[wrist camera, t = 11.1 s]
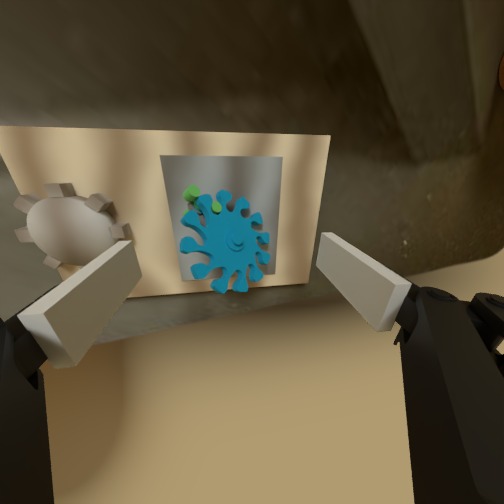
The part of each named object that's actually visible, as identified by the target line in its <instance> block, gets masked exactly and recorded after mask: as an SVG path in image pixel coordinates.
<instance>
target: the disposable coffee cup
mask: <svg viewBox="0 0 504 504" xmlns="http://www.w3.org/2000/svg"><path fill="white" fill-rule="evenodd" d="M499 83H500V86H501V87H502V89H503V90H504V55H503V58H502V61H501V64H500V68H499Z"/></svg>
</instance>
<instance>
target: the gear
mask: <svg viewBox="0 0 504 504" xmlns="http://www.w3.org/2000/svg"><path fill="white" fill-rule="evenodd" d="M199 195H200V190H199V188H198V187H197V186H196V185H190V186H189V187H188V188H187V189H186V190H185V191H184V193H183V198H184V199H185V200H186V201H187V202H188V205H187V206H188V209H187V210H186V211H185V212H184V213H183V217H182V219H181V220H180V222H181V223H182V225H184V226H185V227H189V228H191V229H193V230H195V231H196V232H197V233H198V234H199V235H200V237H201V238H202V239H203V246H200V245H199V244H198V243H197V242H196V241H195V239H194V238H192V237H189V236H187V237H184V238H182V239H181V241H180V252H181V253H183V254H188V253H191V252H199V253H202V254H205V255H207V256H208V257H209V259H210V263H209V265H206V264H203V263H197V264H194V265H192V266H191V267H190V270H191V273H192V275H193V277H194V279H203V278H205V277H206V276H207V274H208V273H209V272H210V271H211V270H213V269H214V268H217V267H219V268H221V269H222V271H223V275H222V277H221V278H219V279H215V280H213V281H212V282H211V285H210V287H211V288H212V289H213V290H214V291H216V292H217V293H225V292H226V291H227V289H228V282H229V279H230V277H231V275H232V274H233V273H234V272H235V271H236V272H237V274H238V278H237V280H236V281H235V282H234V283H233V286H232V289H233V291H235V292H247V291H248V284H247V280H246V271H247V267H248V266H249V268H250V273H249V279H250V281H251V282H257V281H260V280H261V279H262V278H263V273H262V271H261V270H260V269H259V268H258V266H257V264H256V260H255V254H256V255H257V260H258V263H259V264H260V265H266V264H268V262H269V260H270V257H271V256H270V254H269V253H267V252H264V251H263V250H262V249H261V248H260V247H259V246H258V244H257V242H256V239H257V240H258V242H259V243H260V244H261V245H264V244H268V243H269V241H270V236H269V233H268V232H264V233H259V232H257V231H255V230H253V229H252V227H251V224H252V225H254V226H257V225H259V224H262V223H263V219H262V216H261V214H260V213H259V212H257V213H255V214H253V215H251V216H250V218H243V217H242V216H241V213H240V211H244V210H246V209H248V208H249V207H250V204H249V202H248V201H247V200H246V199H245V198H244V197H241V198H239V199H238V200H236V203H235V208H234V210H233V211H232V212H229V211H228V210H227V208H226V204H227V203H228V202H229V201H230V200H231V199H232V195H231V193H230V192H228V191H225V190H222V189H221V190H220V191H219V192H217V194H216V199H217V201H214V202H213V199H212V197H211V195H210V194H204V195H200V196H199ZM198 196H199V197H198ZM215 214H216V215H215Z"/></svg>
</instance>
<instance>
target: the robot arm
mask: <svg viewBox="0 0 504 504" xmlns="http://www.w3.org/2000/svg"><path fill="white" fill-rule="evenodd" d="M316 266H317V267H318V268H319V269H320V270H321V271H322V273H323V274H324V275H325V276H326V277H327V278H328V279H329V280H330V281H331V282H332V284H333V285H334V286H335V287H336V288H337V289H338V290H339V291H340V292H341V294H342V295H343V296H344V297H345V298H346V299H347V300H348V301H349V302H350V303H351V305H352V306H353V307H354V308H355V309H356V310H357V311H358V312H359V313H360V314H361V315H362V317H363V318H364V319H365V320H366V321H367V322H368V323H369V324H370V326H371V327H372V328H373V329H374V330H375V331H376V332H383V331H391V329H392V327H393V325H394V322H395V321H396V322H397V323H398V324H399V325H400V326H401V328H400V330H399V333H398V335H397V337H396V339H395V341H394V345H397V343H398V342H400V351H401V362H402V372H403V383H404V394H405V405H406V416H407V426H408V438H409V449H410V459H411V470H412V480H413V492H414V503H415V504H504V354H503V355H502V354H500V353H499V352H498V351H497V350H496V348H497V347H498V346H499V344H500V343H501V342H502V341H503V340H504V297H502V296H501V297H500V296H499V295H495V294H489V293H477V294H475V296H474V298H473V299H472V301H471V302H468V301H460V300H458V299H457V298H456V297H455V296H454V295H452V294H450V293H448V292H446V291H443V290H440V289H437V288H433V287H421V288H420V287H418V286H417V285H415V284H413V283H412V282H410V281H409V280H407V279H406V278H404V277H403V276H401V275H398V273H396V272H395V271H393V270H391V269H390V268H388V267H387V266H385V265H383V264H381V263H379V262H377V261H376V260H374V259H372V258H371V257H369V256H368V255H366V254H365V253H363V252H361V251H360V250H358V249H357V248H355V247H354V246H352V245H350V244H349V243H347V242H346V241H344V240H343V239H341V238H339V237H338V236H336V235H335V234H333V233H332V232H328V233H322V234H321V239H320V245H319V251H318V257H317V262H316ZM141 278H142V273H141V269H140V266H139V262H138V259H137V255H136V252H135V248H134V245H133V241H132V240H130V241H119V242H117V243H116V244H115V245H113V246H112V247H111V248H109V249H108V250H106V251H105V252H104V253H102V254H101V255H99V256H98V257H97V258H95V259H94V260H93V261H91V262H90V263H88V264H87V265H86V266H84V267H83V268H82V269H80V270H79V271H77V272H76V273H75V274H73V275H72V276H71V277H69V278H68V279H66V280H65V281H64V282H62V283H61V284H59V285H57V286H55V287H53V288H51V289H50V290H49V291H47V292H46V293H44V294H43V296H40V297H39V298H37V299H36V300H35V302H32V303H30V304H29V305H28V306H26V307H25V308H23V309H22V310H21V311H19V312H18V313H16V314H15V315H14V316H12V317H11V318H9V319H8V320H7V321H5V322H3V320H2V319H1V318H0V504H54V496H53V484H52V472H51V461H50V449H49V437H48V425H47V414H46V402H45V390H44V378H43V373H42V372H41V370H40V369H39V367H40V366H41V365H42V364H43V363H44V362H45V361H46V360H47V359H48V360H49V362H50V363H51V365H52V366H53V367H54V369H57V368H66V367H75V366H77V364H78V363H79V362H80V360H81V359H82V358H83V356H84V355H85V354H86V352H87V351H88V349H89V348H90V347H91V345H92V344H93V343H94V341H95V340H96V339H97V337H98V336H99V335H100V333H101V332H102V330H103V329H104V328H105V326H106V325H107V324H108V322H109V321H110V320H111V318H112V317H113V316H114V314H115V313H116V311H117V310H118V309H119V307H120V306H121V305H122V303H123V302H124V301H125V299H126V298H127V297H128V295H129V294H130V292H131V291H132V290H133V288H134V287H135V286H136V284H137V283H138V282H139V280H140V279H141Z"/></svg>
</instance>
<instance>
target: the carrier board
mask: <svg viewBox="0 0 504 504" xmlns="http://www.w3.org/2000/svg"><path fill="white" fill-rule="evenodd" d="M329 143H330V136H328V135H294V134H260V133H226V132H192V131H158V130H124V129H90V128H56V127H22V126H0V154H1V156H2V158H3V160H4V162H5V164H6V166H7V168H8V170H9V172H10V174H11V176H12V178H13V180H14V182H15V184H16V186H17V188H18V190H19V192H20V194H21V195H19V196H18V198H17V199H16V201H15V202H14V204H13V206H14V207H16V208H18V209H19V210H21V211H23V212H24V213H26V214H28V216H27V226H26V227H23V228H20V229H16V230H14V232H15V233H16V235H17V237H18V239H19V241H20V242H35V243H36V245H37V246H38V247H39V248H40V249H41V250H42V251H44V252H45V253H46V254H48V255H47V257H46V258H45V260H44V261H43V262H42V263H44V264H46V265H48V266H50V267H52V268H54V269H58V271H59V273H60V275H61V277H62V280H63V282H64V281H65V280H66V279H68V278H69V277H71V276H72V275H73V274H75V273H76V272H77V271H79V270H80V269H82V268H83V267H84V266H86V265H87V264H88V263H90V262H91V261H93V260H94V259H95V258H97V257H98V256H99V255H101V254H102V253H104V252H105V251H106V250H108V249H109V248H111V247H112V246H113V245H115V244H116V243H117V242H119V241H130V240H132V241H133V245H134V248H135V252H136V255H137V259H138V262H139V266H140V269H141V273H142V278H141V279H140V280H139V282H138V283H137V284H136V286H135V287H134V288H133V290H132V291H131V292H130V294H129V295H128V297H127V298H130V297H143V296H155V295H167V294H179V293H191V292H204V291H214V290H213V289H212V288H211V287H210V285H211V282H212V281H213V280H215V279H219V278H221V277H222V275H223V271H222V269H221V268H219V267H217V268H214V269H213V270H211V271H210V272H209V273H208V274H207V276H206V277H205V278H203V279H194V277H193V275H192V273H191V270H190V267H191V266H192V265H194V264H197V263H203V264H206V265H209V263H210V259H209V257H208V256H207V255H205V254H202V253H199V252H191V253H188V254H183V253H181V252H180V241H181V239H182V238H184V237H187V236H189V237H192V238H194V239H195V241H196V242H197V243H198V244H199V245H200V246H203V239H202V238H201V237H200V235H199V234H198V233H197V232H196V231H195V230H193V229H191V228H189V227H185V226H184V225H182V223H181V222H180V220H181V219H182V217H183V213H184V212H185V211H186V210H187V209H188V206H187V205H188V202H187V201H186V200H185V199H184V198H183V193H184V191H185V190H186V189H187V188H188V187H189V186H190V185H196V186H197V187H198V188H199V190H200V195H204V194H210V195H211V197H212V199H213V202H214V201H217V199H216V194H217V192H219V191H220V190H221V189H222V190H225V191H228V192H230V193H231V195H232V199H231V200H230V201H229V202H228V203H227V204H226V208H227V210H228V211H229V212H232V211H233V210H234V208H235V203H236V200H238V199H239V198H241V197H244V198H245V199H246V200H247V201H248V202H249V204H250V207H249V208H248V209H246V210H244V211H240V213H241V216H242V217H243V218H250V216H251V215H253V214H255V213H257V212H259V213H260V214H261V216H262V219H263V223H262V224H259V225H257V226H254V225H252V224H251V227H252V229H253V230H255V231H257V232H259V233H264V232H268V233H269V236H270V241H269V243H268V244H264V245H261V244H260V243H259V242H258V240H257V239H256V242H257V244H258V246H259V247H260V248H261V249H262V250H263V251H264V252H267V253H269V254H270V256H271V257H270V260H269V262H268V264H266V265H260V264H259V263H258V260H257V255H256V254H255V260H256V264H257V266H258V268H259V269H260V270H261V271H262V273H263V278H262V279H261V280H260V281H257V282H251V281H250V279H249V273H250V268H249V266H248V267H247V271H246V280H247V284H248V288H252V287H265V286H277V285H289V284H301V283H308V280H309V274H310V267H311V261H312V254H313V247H314V241H315V234H316V228H317V221H318V215H319V208H320V202H321V195H322V189H323V182H324V175H325V169H326V162H327V156H328V149H329ZM200 195H199V196H200ZM199 196H198V197H199ZM215 215H216V214H215ZM237 278H238V274H237V272H236V271H235V272H234V273H233V274H232V275H231V277H230V279H229V282H228V289H232V286H233V283H234V282H235V281H236V280H237ZM228 289H227V290H228Z"/></svg>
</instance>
